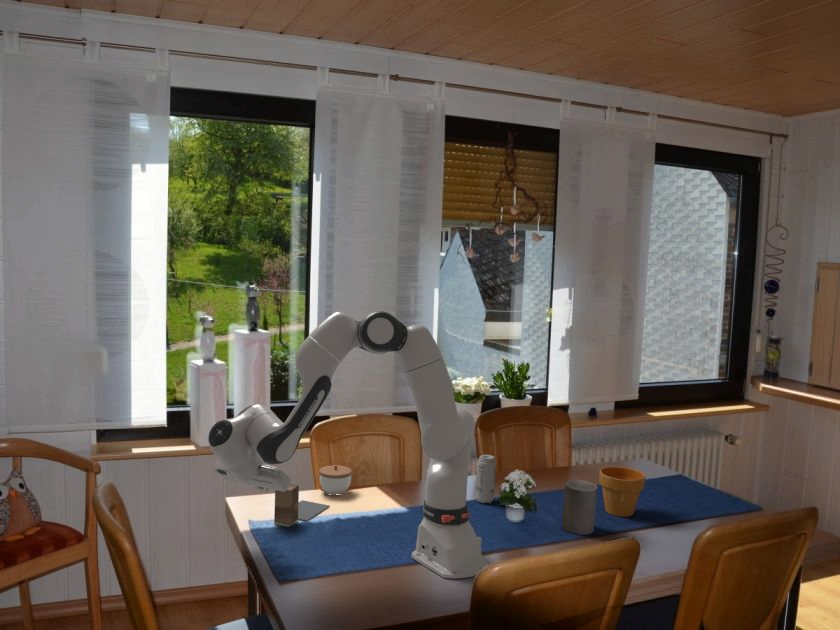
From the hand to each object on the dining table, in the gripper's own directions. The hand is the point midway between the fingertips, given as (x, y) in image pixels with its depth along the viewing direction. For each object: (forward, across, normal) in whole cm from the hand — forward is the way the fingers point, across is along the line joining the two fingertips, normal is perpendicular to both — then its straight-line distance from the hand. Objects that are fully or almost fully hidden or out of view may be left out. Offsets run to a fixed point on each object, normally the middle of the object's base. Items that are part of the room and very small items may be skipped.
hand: (264, 489), depth 206 cm
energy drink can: (+51, -47, -32) cm, 76 cm away
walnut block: (+18, 0, +2) cm, 18 cm away
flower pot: (+59, -89, -40) cm, 114 cm away
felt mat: (+25, 0, -6) cm, 26 cm away
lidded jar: (+39, 0, -19) cm, 44 cm away
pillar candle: (+44, -79, -25) cm, 94 cm away
